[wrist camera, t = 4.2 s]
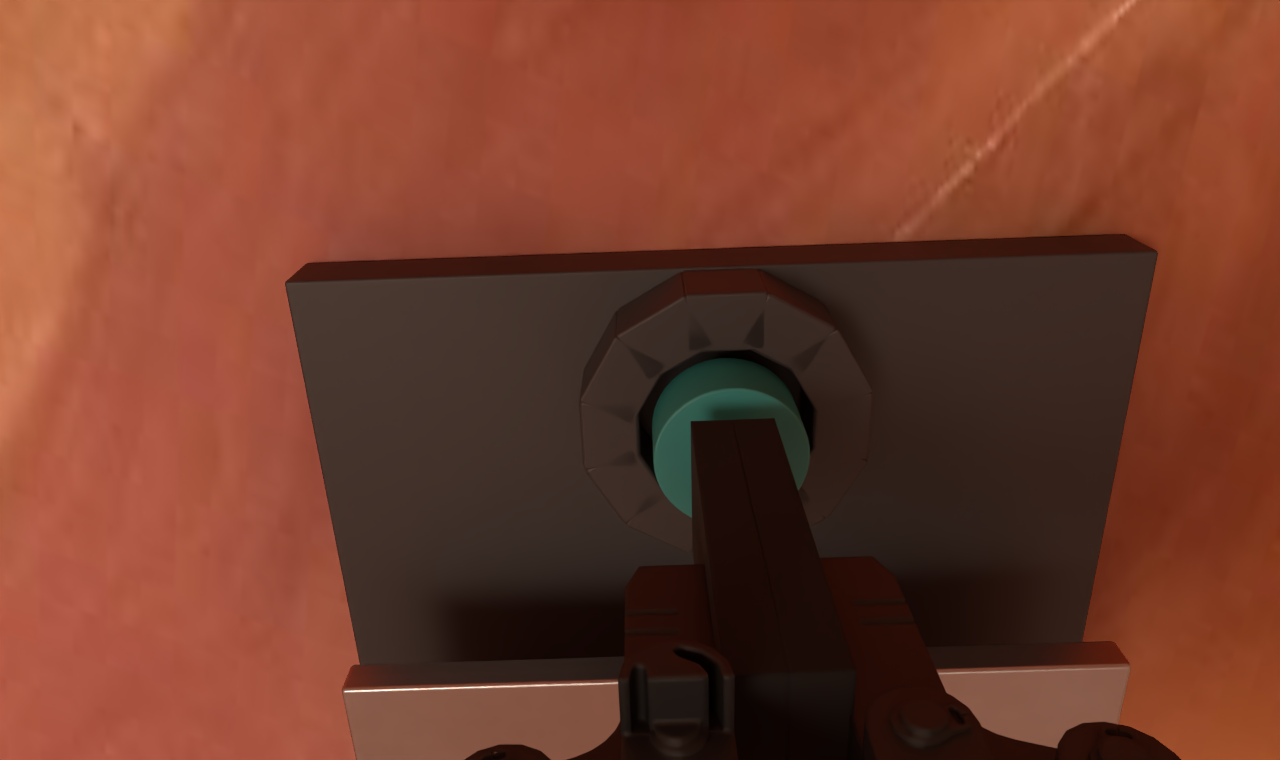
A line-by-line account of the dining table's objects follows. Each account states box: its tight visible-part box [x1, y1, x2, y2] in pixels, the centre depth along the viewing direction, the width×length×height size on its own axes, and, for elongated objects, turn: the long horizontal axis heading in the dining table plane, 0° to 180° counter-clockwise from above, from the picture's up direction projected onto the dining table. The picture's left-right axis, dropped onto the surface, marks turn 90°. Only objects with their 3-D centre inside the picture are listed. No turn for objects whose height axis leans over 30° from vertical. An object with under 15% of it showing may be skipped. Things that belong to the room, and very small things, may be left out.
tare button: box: [652, 358, 810, 517], centre depth 18 cm, size 3×3×2 cm
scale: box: [285, 234, 1158, 665], centre depth 23 cm, size 18×22×3 cm
